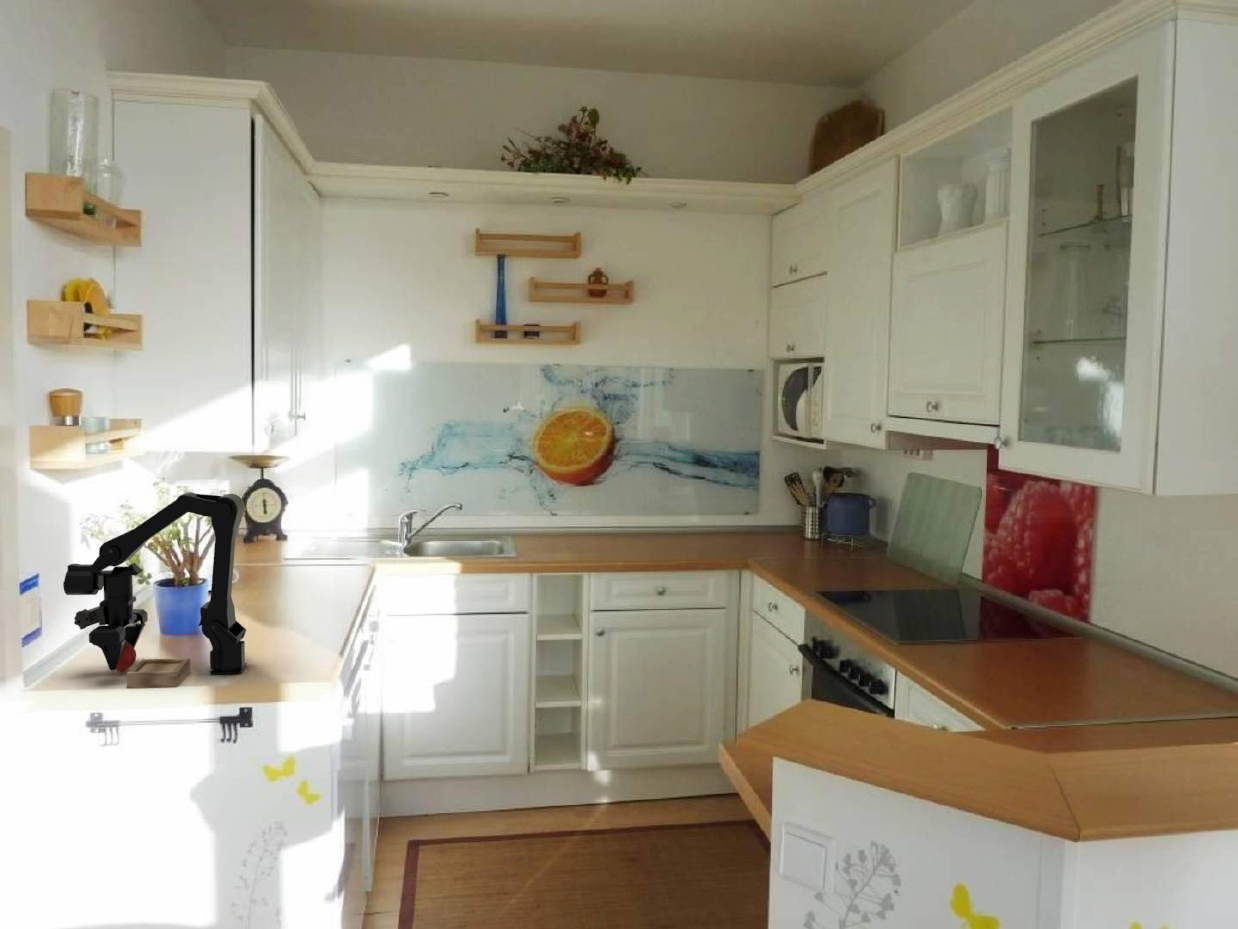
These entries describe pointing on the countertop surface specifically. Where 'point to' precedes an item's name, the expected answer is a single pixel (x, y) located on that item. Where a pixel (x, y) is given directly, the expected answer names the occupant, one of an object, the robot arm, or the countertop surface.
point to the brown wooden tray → (158, 673)
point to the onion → (126, 658)
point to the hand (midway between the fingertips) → (120, 663)
